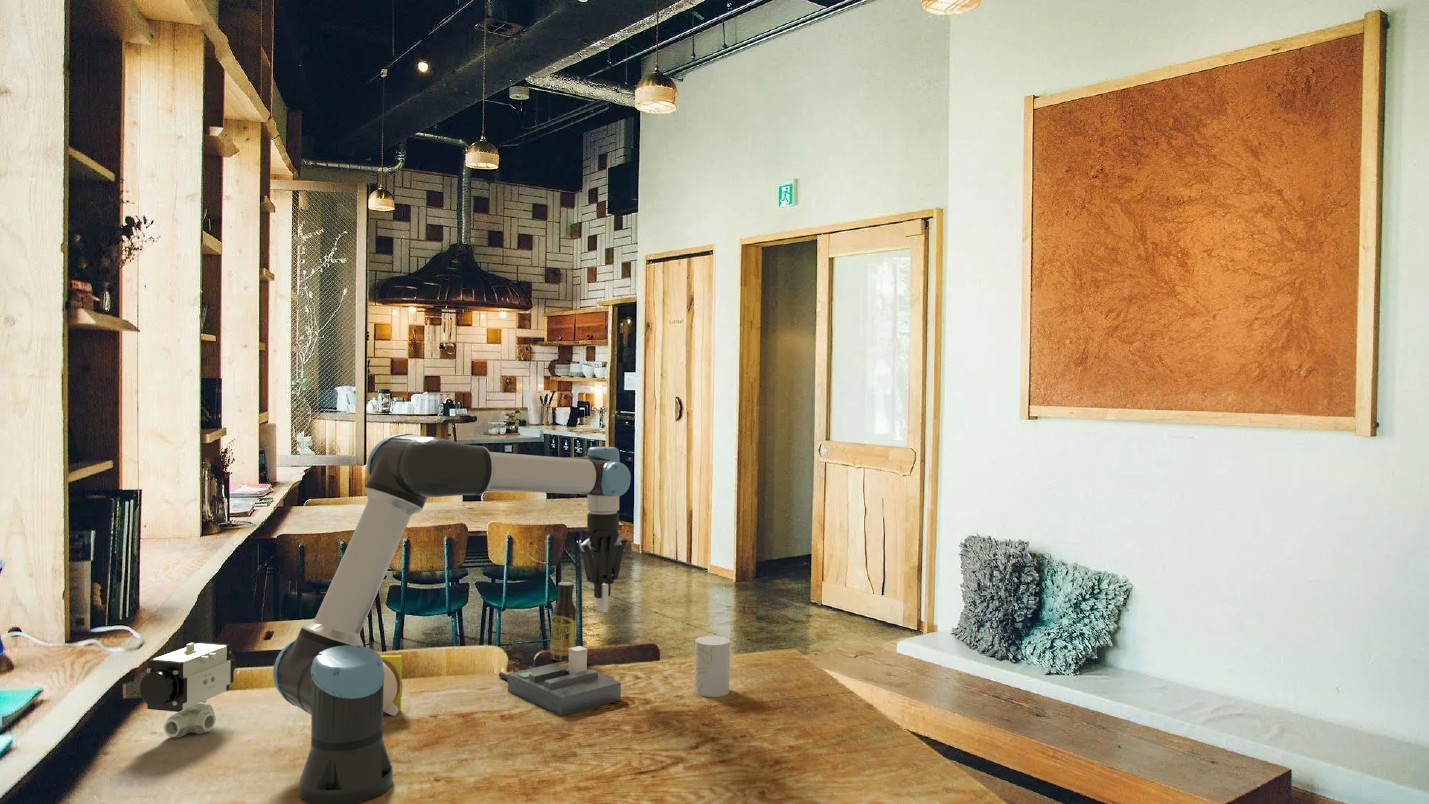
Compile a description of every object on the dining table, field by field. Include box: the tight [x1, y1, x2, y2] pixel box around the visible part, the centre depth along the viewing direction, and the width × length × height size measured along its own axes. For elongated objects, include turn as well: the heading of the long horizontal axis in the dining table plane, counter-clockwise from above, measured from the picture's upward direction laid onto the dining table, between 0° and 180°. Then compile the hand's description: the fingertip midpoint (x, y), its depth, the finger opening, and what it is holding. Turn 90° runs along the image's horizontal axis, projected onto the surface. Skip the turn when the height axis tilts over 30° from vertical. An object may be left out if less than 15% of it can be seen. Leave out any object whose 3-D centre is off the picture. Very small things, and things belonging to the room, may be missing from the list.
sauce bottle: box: [549, 581, 577, 662], centre depth 238 cm, size 7×6×20 cm
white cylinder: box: [694, 635, 731, 698], centre depth 215 cm, size 8×8×12 cm
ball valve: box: [139, 641, 237, 738], centre depth 184 cm, size 18×8×18 cm, turn 168°
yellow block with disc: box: [380, 654, 403, 717], centre depth 196 cm, size 12×8×12 cm
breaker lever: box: [568, 645, 589, 674], centre depth 212 cm, size 3×3×6 cm
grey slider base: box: [498, 660, 622, 717], centre depth 213 cm, size 32×16×5 cm, turn 43°
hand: (602, 610), depth 217 cm, fingers closed
